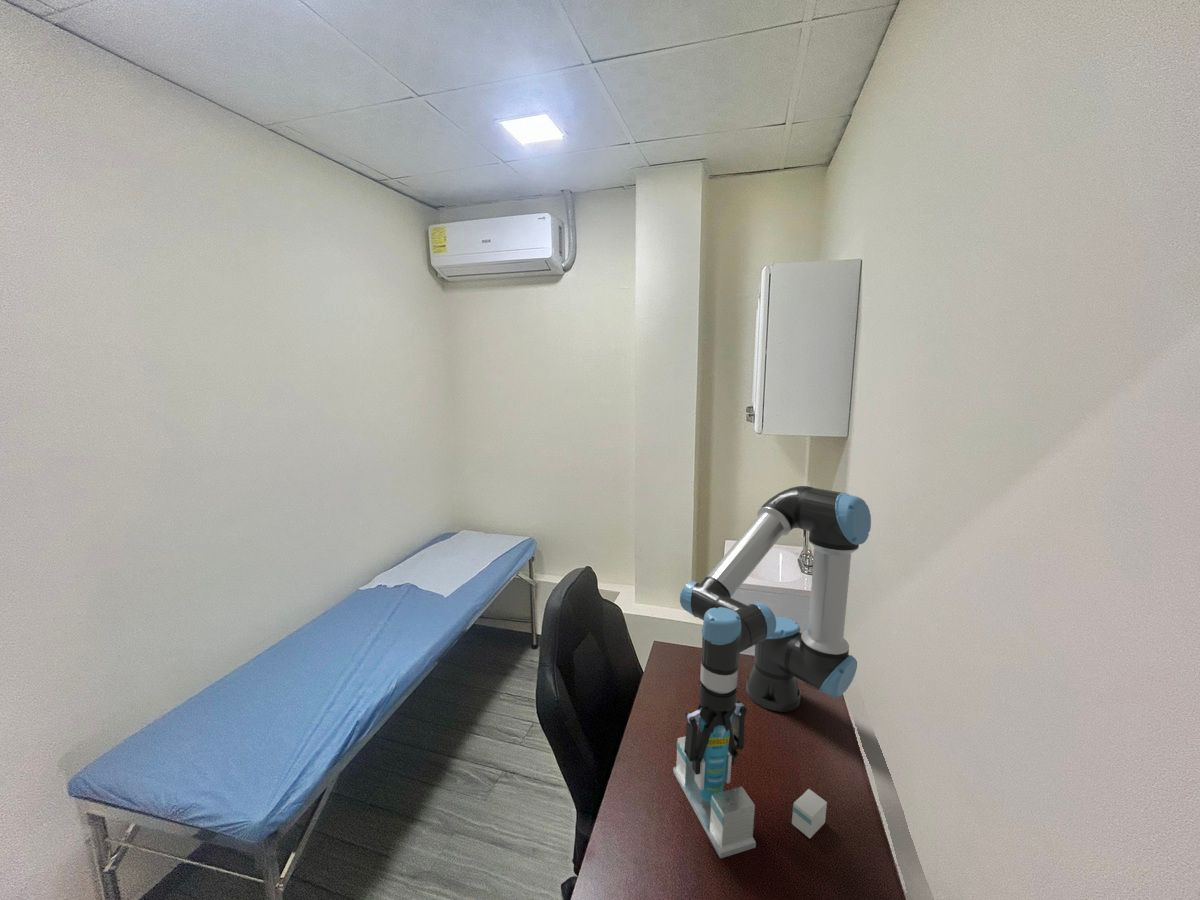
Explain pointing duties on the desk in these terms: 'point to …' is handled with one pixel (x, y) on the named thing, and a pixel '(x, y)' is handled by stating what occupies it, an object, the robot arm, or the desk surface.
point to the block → (809, 813)
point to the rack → (718, 810)
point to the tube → (715, 760)
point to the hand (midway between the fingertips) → (712, 781)
